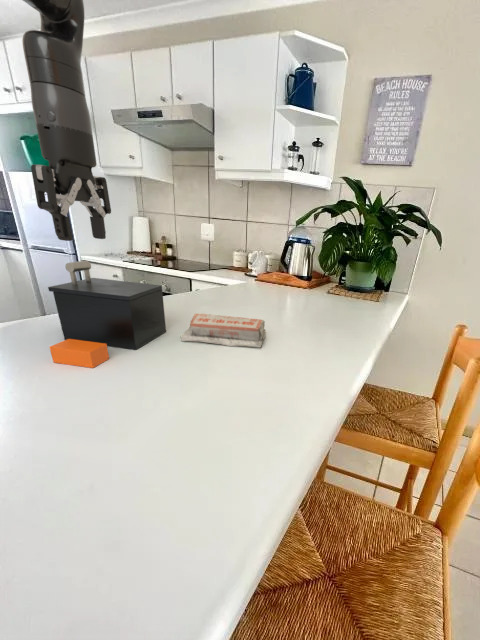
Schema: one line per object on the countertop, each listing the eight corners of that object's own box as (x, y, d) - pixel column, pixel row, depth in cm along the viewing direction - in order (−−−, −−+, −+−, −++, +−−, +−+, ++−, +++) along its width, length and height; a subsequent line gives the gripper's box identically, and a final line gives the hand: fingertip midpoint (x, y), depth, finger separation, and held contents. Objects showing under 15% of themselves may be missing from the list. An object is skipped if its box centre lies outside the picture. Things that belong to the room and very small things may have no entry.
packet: (53, 362, 57) (49, 346, 55) (72, 353, 61) (68, 338, 59) (93, 368, 56) (89, 352, 55) (109, 358, 60) (106, 343, 59)
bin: (64, 340, 66) (52, 292, 62) (104, 324, 77) (96, 281, 73) (136, 350, 65) (129, 301, 60) (166, 331, 76) (162, 289, 71)
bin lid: (48, 291, 62) (42, 263, 59) (93, 281, 73) (89, 257, 71) (129, 300, 60) (125, 272, 58) (162, 289, 71) (160, 265, 69)
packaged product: (267, 316, 77) (262, 328, 68) (266, 335, 80) (261, 349, 71) (192, 309, 77) (178, 320, 68) (193, 328, 80) (179, 341, 71)
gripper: (76, 137, 58) (91, 236, 65) (1, 111, 45) (30, 238, 52) (115, 141, 57) (126, 240, 64) (50, 116, 44) (73, 243, 52)
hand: (83, 239), depth 58 cm, fingers open, 8 cm apart
